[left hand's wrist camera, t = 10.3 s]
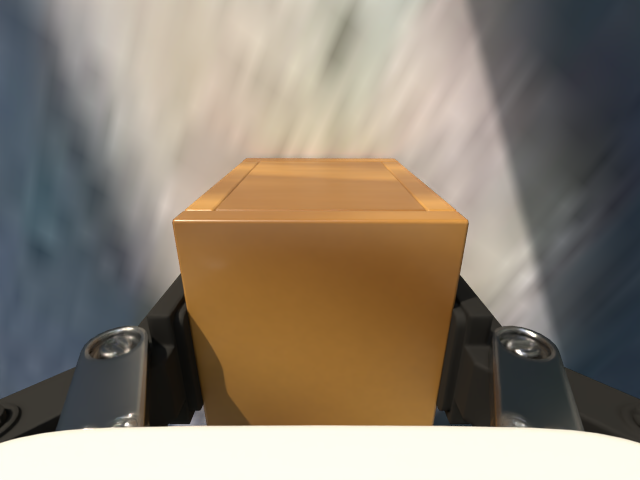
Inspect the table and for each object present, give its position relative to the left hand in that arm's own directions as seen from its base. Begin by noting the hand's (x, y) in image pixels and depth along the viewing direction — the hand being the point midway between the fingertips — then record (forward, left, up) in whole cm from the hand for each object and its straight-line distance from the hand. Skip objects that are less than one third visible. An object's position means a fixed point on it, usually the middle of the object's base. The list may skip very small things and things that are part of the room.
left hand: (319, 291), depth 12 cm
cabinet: (0, +5, -5) cm, 7 cm away
